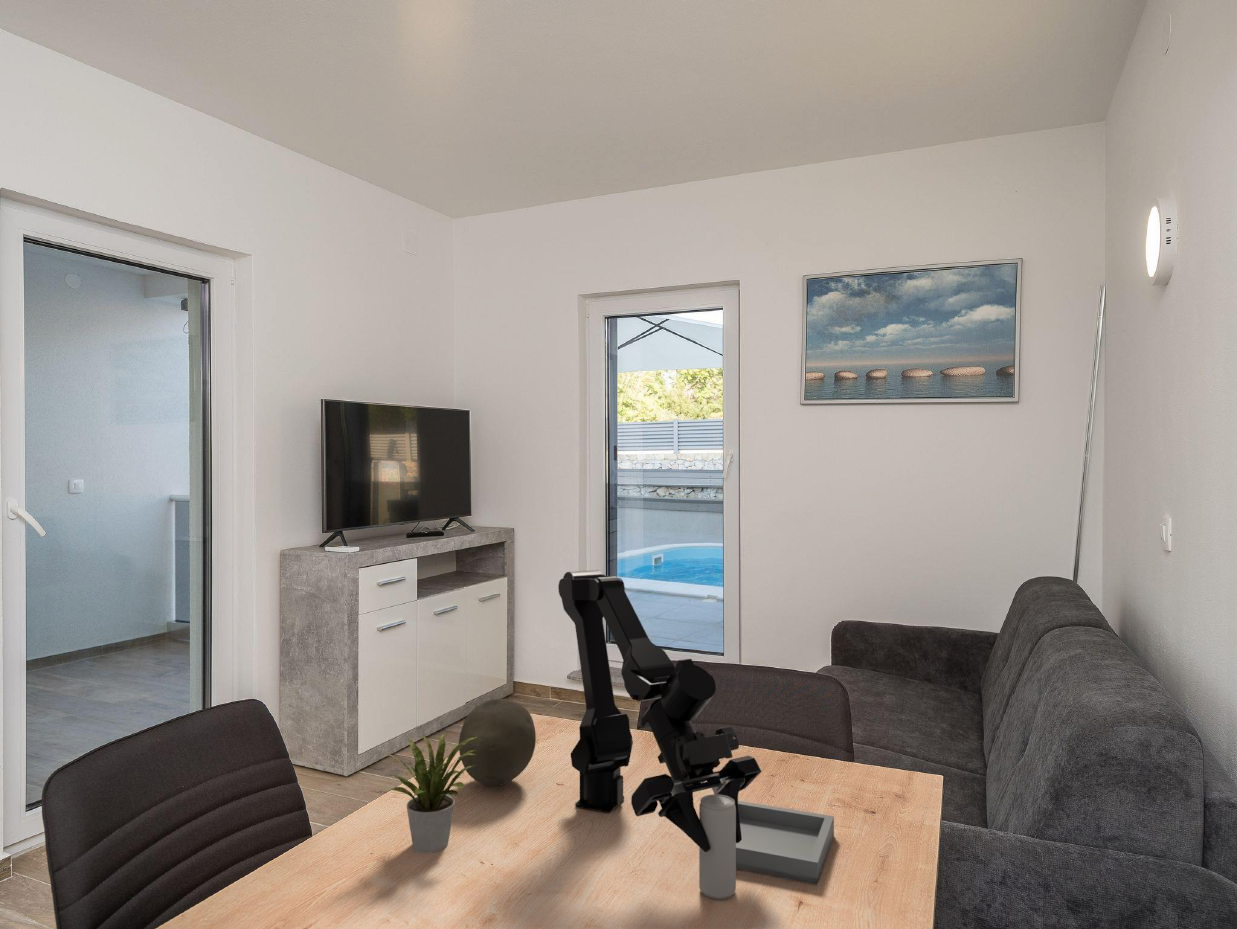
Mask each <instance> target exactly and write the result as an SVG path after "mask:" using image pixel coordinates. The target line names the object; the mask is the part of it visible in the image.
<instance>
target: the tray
mask: <svg viewBox="0 0 1237 929" xmlns="http://www.w3.org/2000/svg"><path fill="white" fill-rule="evenodd" d="M738 810H739V819H740V828H741V836H742V840H741V841H740V842H739V843H736V870H739V871H743V872H744V871H745V872H750V873H755V874H759V875H765V876H769V877H774V876H775V878H781V879H785V880H791V881H795V882H801V883H806V884H811V885H816V886H818V885H819V882H820V879H821V875H822V873H823V870H824V868H825V864H826V860H827V858H828V855H829V852H830V849H831V846H832V842H833V841H834V840H833V839H834V838H835V837H834V836H835V816H834V815H828V814H821V813H815V812H810V811H804V810H797V809H793V808H792V809H791V808H786V807H778V806H773V805H766V804H761V803H755V802H754V803H753V802H749V801H742V800H738Z"/></svg>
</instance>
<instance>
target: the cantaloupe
mask: <svg viewBox="0 0 1237 929" xmlns="http://www.w3.org/2000/svg"><path fill="white" fill-rule="evenodd" d="M536 735H537V734H536V726H535V723H534V719H533V717H532V715H531V713H530V712H529V710H528V709H527V708H526V707H525V706H524V705H522V704H521V703H520V702H517V701H513V700H511V699H505V698H494V699H493V698H492V699H489V700H486V701H484V702H482V703H480V704H478V705H476V706H475V707H474V708H473V709H471V711H470V712H469V713H468V715H467V716H466V718H465V719H464V722H463V725H462V727H461V731H460V734H459V738H458V745H459V744H460V743H461V742H463V741H464V740H466V739H469V738H473V737H477V738H475V739H472V740H470V741H468V742H467V743H466V744H465V745H464V746H463V747H462V748H461V749H460V750H459V751H458V752H459V757H460V756H461V755H463V754H464V753H466V752H468V751H471V750H475V751H473V752H470V753H472V754H477V755H466V756H465V757H464V758H463V759H462V760H461V762H462V765H463V767H464V768H466V767H468V766H472V767H470V768H468V769H466V770H465V772H466V774H468V775H469V776H470V777H471V778H472V779H473V780H474V781H475V782H477V783H478V784H480V785H483V786H486V787H499V786H503V785H506V784H508V783H509V782H511V781H513V780H514V779H516V778H517V777H518V776H520V775H521V773H523V772H524V770H525V769H526V768H527V767H528V765H529V763H530V762H531V760H532V758H533V756H534V752H535V748H536V741H537V740H536V739H537V737H536ZM464 768H463V769H464Z"/></svg>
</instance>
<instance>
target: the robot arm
mask: <svg viewBox="0 0 1237 929" xmlns="http://www.w3.org/2000/svg"><path fill="white" fill-rule="evenodd" d="M625 589H626V588H625V583H624V580H623V579H622V578H621V577H618V576H616V575H615V576H613V575H606V574H603V572H602V571H601V570H599V569H594V570H580V571H579V570H578V571H577V570H576V571H567V572H565V573H564V575H563V576H562V578H560V580H559V582H558V594H559V597H560V598H561V603H562V608H563V611H564V612H565V613H566V615H568V617H569V618H570V619H571V621H572V622H573V623H574V626H575V634H576V642H577V649H578V650H577V651H578V657H579V664H580V670H581V678H582V685H583V693H584V700H585V712H584V715H583V717H582V719H581V722H580V725H579V729H578V730H579V740H578V742H577V743H576V745H574V747H573V749H572V750H571V752H570V759H571V766H572V767H573V769H575V770H577V771H578V772H579V799H578V801H576V802H575V804H574V806H575V807H576V808H580V809H587V810H592V811H597V812H603V813H611V812H613V811H614V810H615V809H616V808H617V807H618V806H619V805H620V804H621V803H622V802H623V801H624V800H625V796H624V776H623V775H621V769H622V767H625V768H626V767H628V766H629V764H630V759H631V755H632V749H633V744H634V741H633V735H632V732H631V727H630V719H629V718H630V717H629V716H628V714H627V713H626V712H625V713H622V712H621V711H620V709H619V708H618V707H617V705H616V701H615V695H614V688H613V680H612V676H611V669H610V661H609V655H608V648H607V642H606V634H605V628H604V621H605V623H606V625H607V626H608V629H609V631H610V633H611V635H612V638H613V640H614V642H615V644H616V646H617V648H618V650H619V652H620V654H621V658H622V665H621V666H622V667H621V670H620V673H621V676H622V680H623V684H624V688H625V690H626V692H627V693H628V695H629V697H630V698H631V699H632V700H633V701H637V702H645V701H650V700H654V701H653V702H651V704H650V705H649V706H645V707H644V712H643V716H642V717H641V724H640V725H641V726H642V727H650V729H651V732H652V735H653V737H654V739H655V742H656V744H657V746H658V749H659V752H660V753H659V754H658V755H657V760H658V762H659V764H664V763H665V765H666V768H667V771H668V772H669V774H667V773H663V774H659V775H654V776H651V777H646V778H644V779H643V780H642V781H641V783H640V784H639V785H638V787H637V788H636V789H635V790H634V791H633V793H632V795H631V803H630V805H631V807H632V810H633V812H634V814H635V816H636V817H640V816H644V815H648V814H649V815H650V814H653V813H655V812H656V809H657V808H658V805H660V808H661V809H660V810H659V811H658V812H657V815H658V817H659V818H662V817H664V818H665V819H667V820H668V821H669V822H671V823H673V825H674V826H676V827H677V828H679V829H680V830H681V831H682V832H683V833H684V834H685V835H687V837H688V838H690V840H692V841H693V842H694V843H695V845H697V846H698V847H700V848H701V849H702V850H703V851H704V852H708V851H709V850H710V844H709V841H708V838H707V836H706V833H705V831H704V829H703V826H702V824H701V822H700V820H699V815H698V813H697V810H696V808H695V806H694V794H693V793H696V792H700V791H705V790H709V789H711V790H712V792H713V794H719V795H725V796H728V797H731V798H732V799H733V800H734V801H735V807H736V843H739V842H740V841H741V840H742V836H741V828H740V819H739V810H738V801H739V793H740V792H742V791H743V790H745V789H746V788H747V787H748V786H749V785H750V784H752V782H753V781H755V779H756V778H757V777H758V776H759V775H760V774H761V773H762V769H761V767H760V765H759V763H758V762H757V759H756V758H755V757H753V756H751V755H745V756H740V757H736V758H733V757H734V756H733V753H732V751H735V750H738V749H739V748H740V742H739V739H738V735H737V733H736V731H735V730H734V728H733V727H732V725H730V726H724V727H721V728H717V729H716V730H715V735H712V736H707V737H706V735H705V734H704V733H703V732H702V731H696V730H695V727H694V725H693V723H692V721H693V720H695V719H696V718H697V717H698V716H699V714H701V712H702V711H703V710H704V708H705V707H706V706H707V704H708V703H709V702H710V701H711V699H712V698H713V697H714V695H715V693H716V689H717V686H716V685H717V684H716V681H715V678H714V677H713V675H711V674H710V673H709V672H708V671H707V670H706V669H705V668H703V667H700V666H698V665H696V664H694V662H693V660H692V658H684V659H679V660H678V661H677V663H676V665H674V663H673V661H672V660H671V659H670V657H669V655H668V654H667V653H666V651H665V650H664V649H662V648H661V647H660V646H658V645H656V644H655V643H653V642H652V640H651V639H650V638H649V636H648V635H647V632H646V630H645V628H644V626H643V624H642V623H641V621H640V618H639V616H638V615H637V613H636V611H635V609H634V606H633V604H632V603H631V600H630V599H629V596H628V594H627V593H626V591H625ZM603 618H604V619H603ZM722 759H726V760H727V759H729V760H728V761H727V763H725V765H724V766H723V767H722V768H721V769H720V770H717V771H714V769H716V768H718V767H719V765H720V764H721V762H720V760H722Z"/></svg>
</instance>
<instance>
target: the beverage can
mask: <svg viewBox="0 0 1237 929" xmlns="http://www.w3.org/2000/svg"><path fill="white" fill-rule="evenodd" d="M698 813H699V815H698V817H699V820H700V822H701V824H702V826H703V829H704V831H705V833H706V836H707V838H708V841H709V844H710V850H709V851H708V852H704V851H703V850H702V849H701V848H700V847H699V846H698V847H699V850H698V852H699V856H698V859H699V860H698V861H699V862H698V863H699V865H698V866H699V868H698V870H699V876H698V878H699V880H698V883H699V886H698V887H699V889H700V891H701V893H702V894H703V895H704V896H706V897H707V898H710V899H712V900H717V901H718V900H719V901H722V900H726V899H729V898H731V897H732V896H733V895H734V894H735V893H736V890H737V885H736V884H737V882H736V881H737V878H736V876H737V873H736V872H737V869H736V807H735V801H734V800H733V799H732V798H731V797H728V796H725V795H719V794H714V793H713V794H707V795H704V796H702V797H701V798H700V803H699V812H698Z"/></svg>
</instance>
